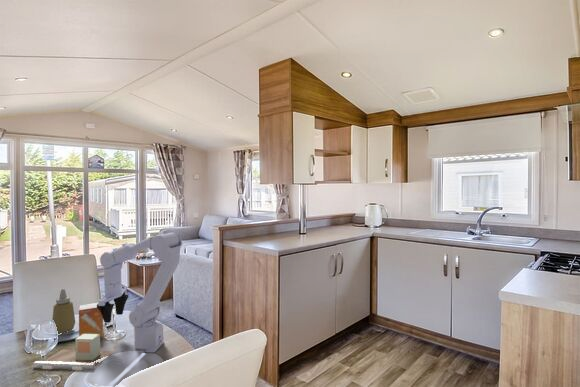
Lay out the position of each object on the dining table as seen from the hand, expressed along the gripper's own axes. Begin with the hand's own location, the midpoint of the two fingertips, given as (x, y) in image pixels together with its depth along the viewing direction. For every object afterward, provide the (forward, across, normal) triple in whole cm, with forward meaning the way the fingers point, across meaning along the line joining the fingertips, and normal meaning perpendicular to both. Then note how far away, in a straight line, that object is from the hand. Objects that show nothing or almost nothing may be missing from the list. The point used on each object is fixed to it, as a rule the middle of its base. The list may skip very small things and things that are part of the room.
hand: (113, 318), depth 126 cm
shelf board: (+9, +14, -4) cm, 17 cm away
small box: (+10, -3, -11) cm, 15 cm away
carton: (+8, +13, -1) cm, 15 cm away
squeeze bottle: (+10, -7, -26) cm, 29 cm away
